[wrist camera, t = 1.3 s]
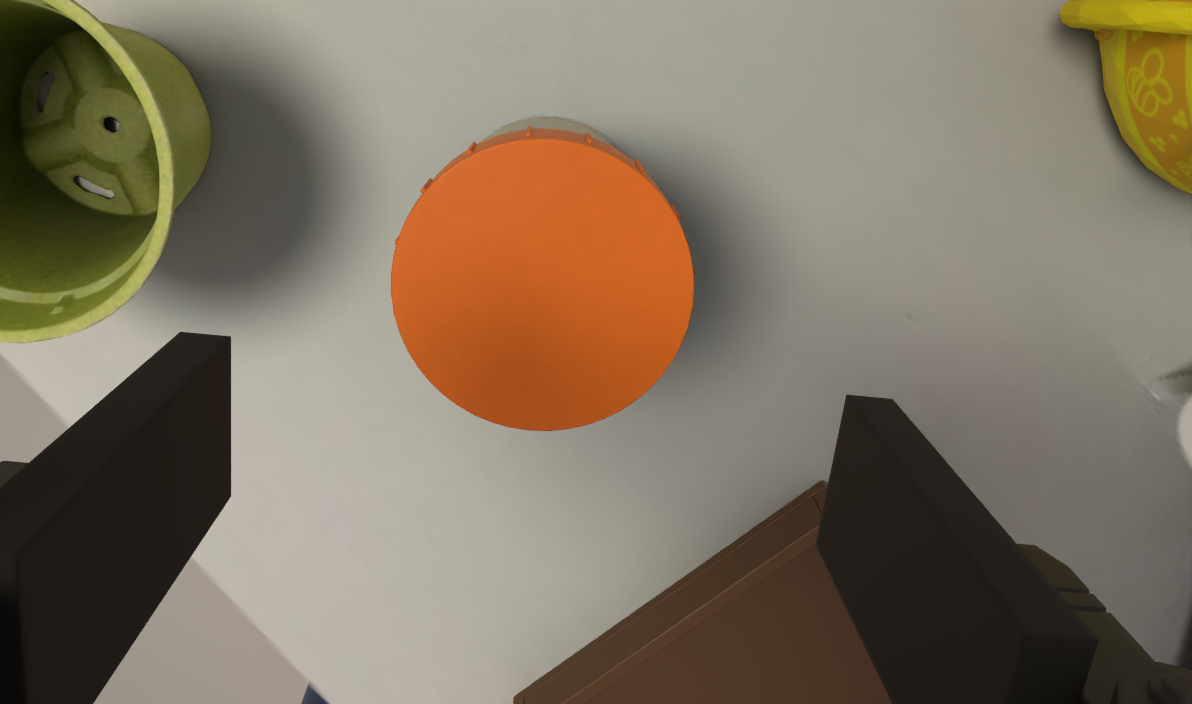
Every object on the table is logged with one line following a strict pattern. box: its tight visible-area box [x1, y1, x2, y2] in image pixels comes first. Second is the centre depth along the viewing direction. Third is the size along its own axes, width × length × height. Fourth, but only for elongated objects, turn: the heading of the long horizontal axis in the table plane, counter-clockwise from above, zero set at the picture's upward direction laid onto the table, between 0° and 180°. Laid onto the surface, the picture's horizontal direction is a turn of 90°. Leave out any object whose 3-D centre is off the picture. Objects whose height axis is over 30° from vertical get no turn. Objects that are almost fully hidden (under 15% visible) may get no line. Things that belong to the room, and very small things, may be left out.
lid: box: [391, 126, 695, 431], centre depth 26 cm, size 8×8×2 cm
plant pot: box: [0, 0, 211, 343], centre depth 29 cm, size 9×9×9 cm
